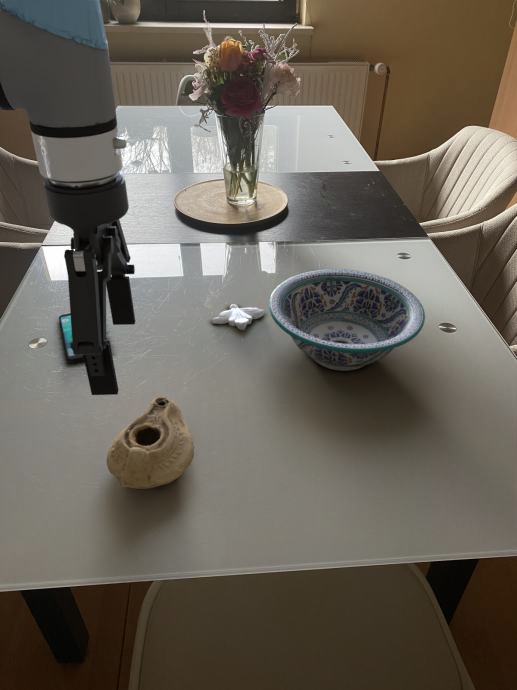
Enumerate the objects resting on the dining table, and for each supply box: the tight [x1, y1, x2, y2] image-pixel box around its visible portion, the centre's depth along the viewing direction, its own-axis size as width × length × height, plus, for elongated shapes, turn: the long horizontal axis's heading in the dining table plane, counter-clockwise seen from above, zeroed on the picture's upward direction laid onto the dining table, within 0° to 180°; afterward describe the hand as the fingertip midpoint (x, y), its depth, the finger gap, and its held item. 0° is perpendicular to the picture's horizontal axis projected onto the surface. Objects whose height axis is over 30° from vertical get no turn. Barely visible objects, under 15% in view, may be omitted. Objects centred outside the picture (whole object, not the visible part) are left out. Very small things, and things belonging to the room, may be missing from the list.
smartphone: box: [58, 312, 108, 363], centre depth 95 cm, size 7×1×15 cm
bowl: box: [268, 268, 426, 372], centre depth 90 cm, size 25×25×10 cm
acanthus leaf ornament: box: [212, 303, 265, 331], centre depth 100 cm, size 8×7×2 cm
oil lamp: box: [106, 396, 195, 490], centre depth 70 cm, size 11×15×8 cm
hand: (115, 355), depth 63 cm, fingers open, 13 cm apart
